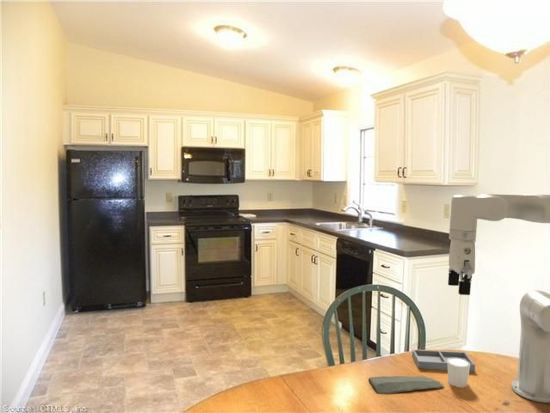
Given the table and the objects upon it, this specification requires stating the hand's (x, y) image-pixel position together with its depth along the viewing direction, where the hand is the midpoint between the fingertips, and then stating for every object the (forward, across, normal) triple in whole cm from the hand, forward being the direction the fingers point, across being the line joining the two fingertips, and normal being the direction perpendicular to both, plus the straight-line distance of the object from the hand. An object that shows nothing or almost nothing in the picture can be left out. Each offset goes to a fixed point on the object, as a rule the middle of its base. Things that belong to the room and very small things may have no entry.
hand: (458, 289), depth 130 cm
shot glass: (+31, +2, -2) cm, 32 cm away
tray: (+31, +15, -2) cm, 35 cm away
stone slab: (+32, -1, +14) cm, 35 cm away
